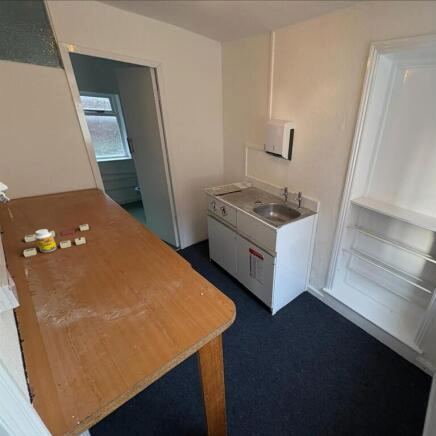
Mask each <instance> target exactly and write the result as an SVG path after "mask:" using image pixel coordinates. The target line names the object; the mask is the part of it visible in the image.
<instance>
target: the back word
mask: <svg viewBox="0 0 436 436" xmlns="http://www.w3.org/2000/svg"><path fill="white" fill-rule="evenodd" d="M79 230H80V231H81V232H82V231H87V230H88V231H89V230H90V227H89V224H88V223H85V224H81V225H79ZM48 232H49V233H51V234H52V236H53V238H54V237H56V232H55V230H50V231H49V230H48ZM75 233H76V232H75V229H74V228H73V229H68V230H63V231H61V236H66V235H71V234H75ZM35 236H36V233H35V234H30V235H25V236H24V241H25V243H30V242H34V241H35V242H36V239H35Z"/></svg>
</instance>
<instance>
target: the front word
mask: <svg viewBox="0 0 436 436" xmlns="http://www.w3.org/2000/svg"><path fill="white" fill-rule="evenodd" d="M74 243H75V245H76V246H79V245H83V244H86V243H87V241H86V238H85V236H83V237H82V236H81V237H78V238H75V239H74ZM59 246H60V249H66V248H70V247H72V242H71V240H70V239H69V240H63V241H60V242H59ZM37 254H38V250H37V247H32V248H27V249H24V250H23V255H24V257H25V258H28V257H32V256H36V255H37Z"/></svg>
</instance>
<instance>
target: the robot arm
mask: <svg viewBox="0 0 436 436" xmlns="http://www.w3.org/2000/svg"><path fill="white" fill-rule="evenodd" d="M8 190H9V187H8V186H7V185H6V184H4V183H3V182H2V181H0V202H2V203H4V204H6V203H9V202H10V201H11V199H10V198H9V197H7V196H6V193H7V191H8Z"/></svg>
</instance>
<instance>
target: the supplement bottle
mask: <svg viewBox="0 0 436 436" xmlns="http://www.w3.org/2000/svg"><path fill="white" fill-rule="evenodd" d="M34 233H35V235H36V236H35V239H36V240H35V242H36V243H37V246H38V248H39V251H40V252H41V253H50V252H53V251H55V250H56V249H58V246H57V244H56V241H55V238H54V237H53V236H52V234H51V233H49V230H48V229H47V228H43V229H38V230H36V231H35V232H34Z"/></svg>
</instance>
